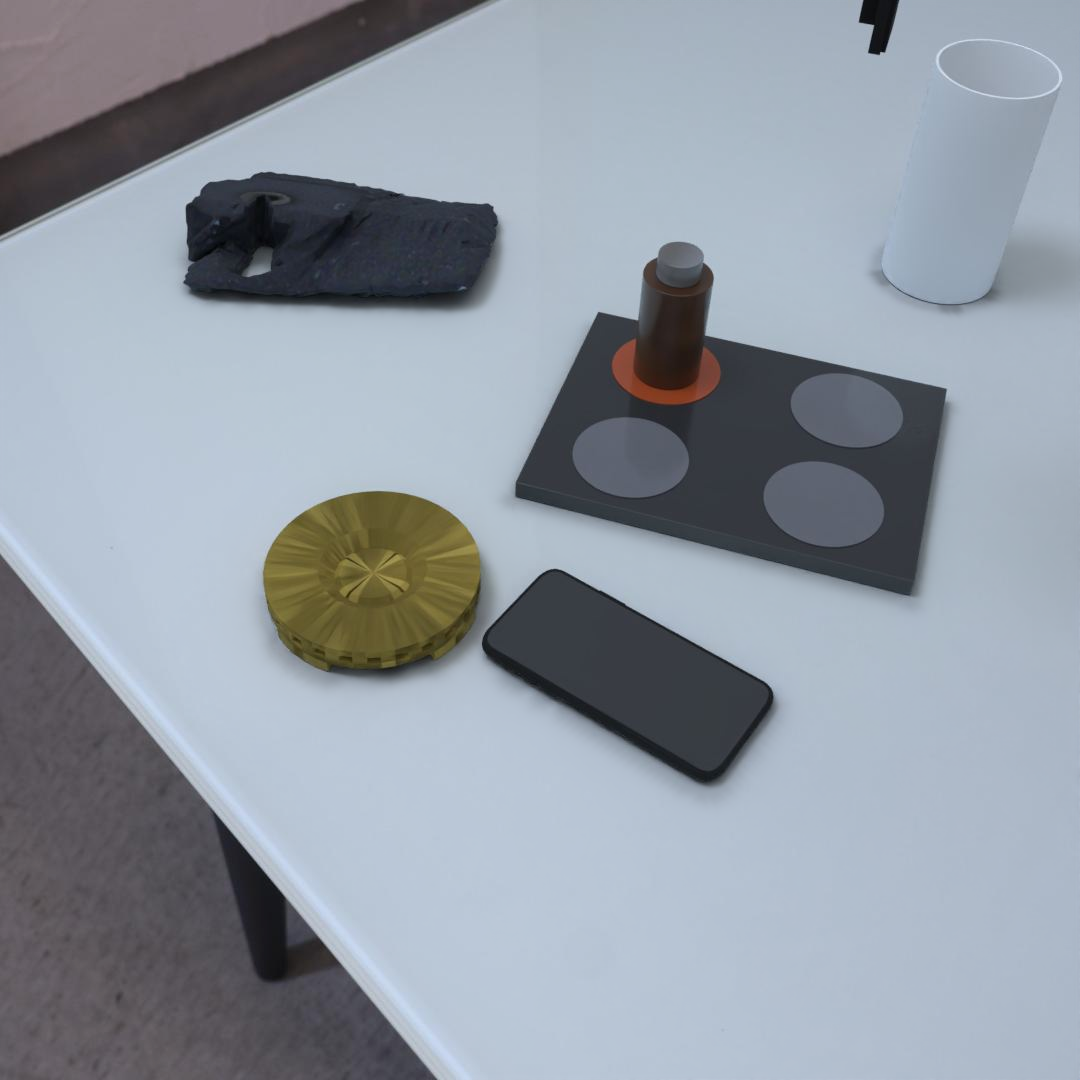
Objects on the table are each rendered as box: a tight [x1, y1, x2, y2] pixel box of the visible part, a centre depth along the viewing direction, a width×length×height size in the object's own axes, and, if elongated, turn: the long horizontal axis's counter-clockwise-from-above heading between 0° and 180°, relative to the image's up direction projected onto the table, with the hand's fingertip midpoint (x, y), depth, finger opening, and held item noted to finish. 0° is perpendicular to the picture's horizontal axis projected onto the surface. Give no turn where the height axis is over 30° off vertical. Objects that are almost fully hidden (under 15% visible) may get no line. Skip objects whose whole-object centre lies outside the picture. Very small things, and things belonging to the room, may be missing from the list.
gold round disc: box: [262, 490, 482, 672], centre depth 74 cm, size 12×12×2 cm
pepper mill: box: [633, 241, 715, 390], centre depth 83 cm, size 4×4×9 cm
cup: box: [880, 38, 1063, 305], centre depth 92 cm, size 8×8×16 cm
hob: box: [514, 311, 948, 596], centre depth 83 cm, size 24×18×1 cm
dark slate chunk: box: [182, 171, 499, 299], centre depth 95 cm, size 15×22×5 cm
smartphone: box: [481, 568, 774, 783], centre depth 70 cm, size 7×1×15 cm
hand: (992, 60), depth 56 cm, fingers open, 9 cm apart
